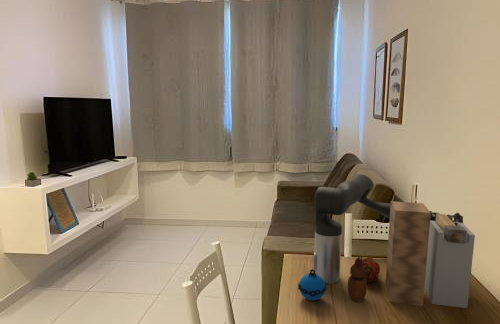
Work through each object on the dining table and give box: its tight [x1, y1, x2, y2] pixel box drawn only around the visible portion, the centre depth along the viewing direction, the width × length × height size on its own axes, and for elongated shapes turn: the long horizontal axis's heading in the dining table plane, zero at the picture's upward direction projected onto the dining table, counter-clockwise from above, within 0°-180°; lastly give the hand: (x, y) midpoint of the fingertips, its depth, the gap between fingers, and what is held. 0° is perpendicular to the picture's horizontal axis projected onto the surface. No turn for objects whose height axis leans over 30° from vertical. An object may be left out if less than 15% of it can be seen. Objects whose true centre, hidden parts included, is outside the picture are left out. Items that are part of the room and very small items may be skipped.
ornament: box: [297, 268, 327, 301], centre depth 118 cm, size 9×9×10 cm
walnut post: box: [384, 200, 431, 307], centre depth 119 cm, size 10×11×30 cm
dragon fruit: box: [362, 256, 381, 283], centre depth 132 cm, size 8×8×12 cm
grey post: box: [424, 221, 476, 309], centre depth 119 cm, size 10×12×24 cm
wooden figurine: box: [347, 255, 367, 302], centre depth 118 cm, size 7×6×15 cm
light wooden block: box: [436, 213, 467, 244], centre depth 120 cm, size 5×20×4 cm, turn 166°
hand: (444, 214), depth 125 cm, fingers open, 8 cm apart
